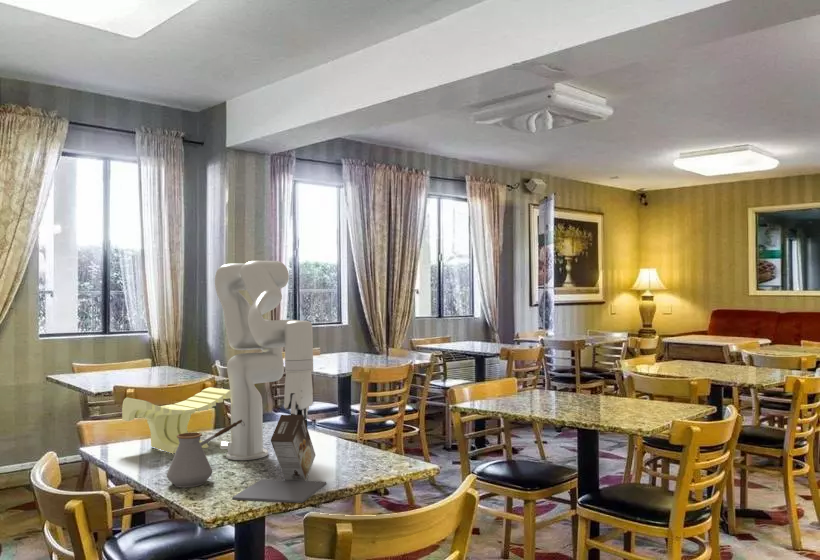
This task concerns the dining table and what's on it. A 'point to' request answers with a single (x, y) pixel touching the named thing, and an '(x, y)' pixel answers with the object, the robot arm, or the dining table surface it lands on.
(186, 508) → the dining table surface
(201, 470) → the coffee pot
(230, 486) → the dining table surface
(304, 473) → the coffee box
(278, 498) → the mat
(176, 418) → the slatted curved stool
